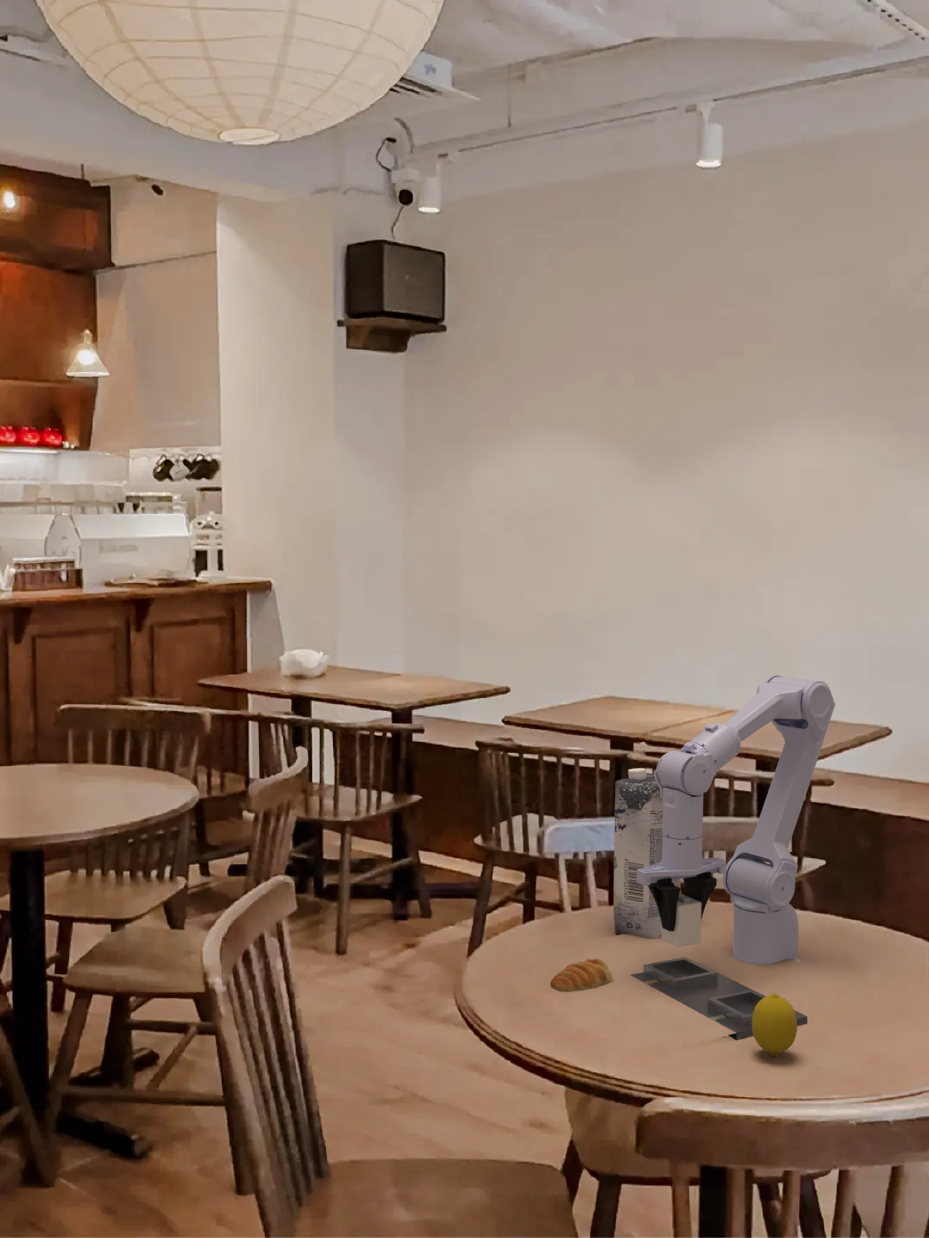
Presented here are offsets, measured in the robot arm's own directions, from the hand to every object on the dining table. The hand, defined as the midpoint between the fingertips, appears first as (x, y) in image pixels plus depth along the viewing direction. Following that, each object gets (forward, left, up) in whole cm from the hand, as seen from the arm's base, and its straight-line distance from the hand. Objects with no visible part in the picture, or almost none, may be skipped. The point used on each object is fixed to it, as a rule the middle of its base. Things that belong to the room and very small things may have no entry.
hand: (681, 926), depth 188 cm
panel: (0, +8, -8) cm, 12 cm away
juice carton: (-9, -21, -9) cm, 24 cm away
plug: (0, 0, -2) cm, 2 cm away
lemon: (+5, +26, -9) cm, 28 cm away
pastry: (+14, -5, -9) cm, 17 cm away
